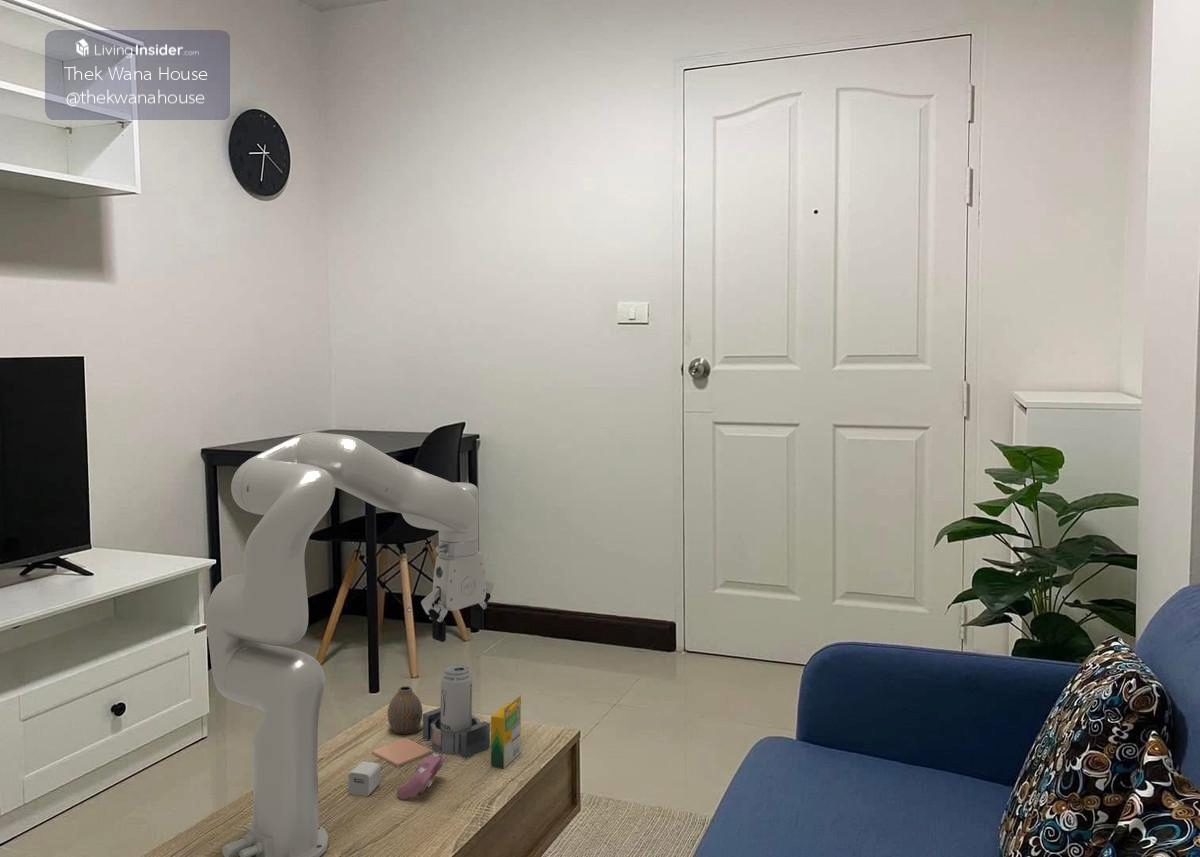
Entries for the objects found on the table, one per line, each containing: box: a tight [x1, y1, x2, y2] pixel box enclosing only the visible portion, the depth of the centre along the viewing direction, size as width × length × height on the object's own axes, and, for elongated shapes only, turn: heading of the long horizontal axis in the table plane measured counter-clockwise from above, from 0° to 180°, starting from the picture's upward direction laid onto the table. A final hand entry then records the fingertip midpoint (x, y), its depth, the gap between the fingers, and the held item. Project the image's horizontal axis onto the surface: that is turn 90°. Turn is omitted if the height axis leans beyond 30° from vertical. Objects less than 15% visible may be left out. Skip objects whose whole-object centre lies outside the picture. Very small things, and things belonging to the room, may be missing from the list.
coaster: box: [371, 737, 433, 768], centre depth 182 cm, size 8×8×1 cm
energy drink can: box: [440, 664, 473, 732], centre depth 186 cm, size 6×6×15 cm
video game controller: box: [396, 752, 446, 800], centre depth 168 cm, size 10×5×7 cm, turn 168°
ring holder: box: [422, 706, 491, 759], centre depth 186 cm, size 13×10×5 cm
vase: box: [387, 685, 424, 735], centre depth 192 cm, size 7×7×9 cm
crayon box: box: [490, 695, 522, 770], centre depth 180 cm, size 7×3×12 cm, turn 160°
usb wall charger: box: [347, 761, 383, 797], centre depth 168 cm, size 4×7×4 cm, turn 167°
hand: (458, 633), depth 185 cm, fingers open, 9 cm apart
